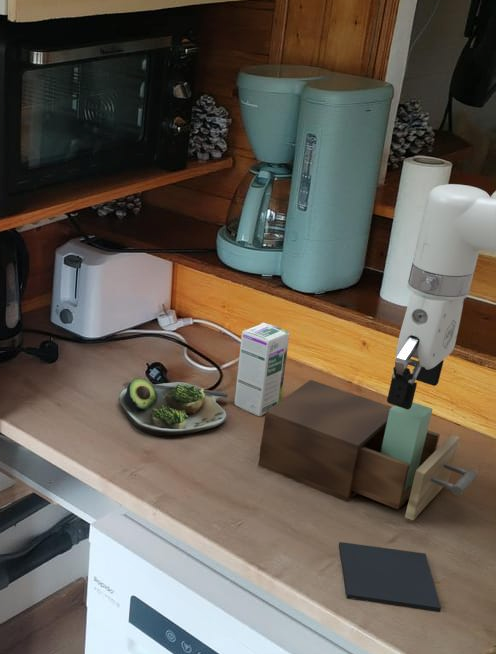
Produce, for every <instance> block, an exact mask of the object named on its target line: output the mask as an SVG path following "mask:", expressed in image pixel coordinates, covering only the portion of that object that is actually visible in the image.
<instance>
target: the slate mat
mask: <svg viewBox="0 0 496 654" xmlns="http://www.w3.org/2000/svg"><path fill="white" fill-rule="evenodd" d="M338 548H339V555H340V563H341V569H342V576H343V583H344V588H345V595H347V596H346V598H347V599H351V598H355V599H354V600H358V599H359V601H365V600H368V601H367V602H371V603H372V602H373V603H379V602H381V603H380V604H385V605H386V604H388V605H392V604H393V606H399V607H400V606H401V607H406V606H408V607H407V608H413V607H414V609H422V610H427V611H435V612H441V610H442V606H441V602H440V599H439V595H438V592H437V589H436V585H435V582H434V578H433V574H432V572H431V568H430V564H429V560H428V557H427V553H424V552H417V551H411V550H410V551H409V550H403V549H395V548H387V547H381V546H373V545H366V544H359V543H351V542H344V541H339V542H338Z"/></svg>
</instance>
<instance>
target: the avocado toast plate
mask: <svg viewBox="0 0 496 654" xmlns="http://www.w3.org/2000/svg"><path fill="white" fill-rule="evenodd" d="M121 385H122V386H123V387H124V389H123V390H122V391H121V392H120V394H119V396H118V402H119V404H120V407H121V409H122V411H123V414H124V415H125V417H126V418H127V420H128V422H129V421H130V422H131V423H130V422H129V423H130V424H131V426H132V427H134V426H135V427H134V428H135V429H137V430H139V431H141V432H142V433H144V434H147V435H150V436H154V437H174V436H181V435H189V434H193V433H197V432H201V431H204V430H208V429H211V428H215V427H218V426H219V425H221V424H223V423H224V422H225V421H226V419H227V418H228V414H227V412H226V411H225V410H224V408H222V406H221V405H219V403H217V400H220V399H226V398H228V397H229V393H228V392H225V391H217V390H209V389H205V388H204V387H202V388H201V386H198V385H195V384H191V383H187V382H183V381H175V382H174V381H173V382H167V383H166V382H165V383H158V384H152V383H151V382H150V381H148V380H147V379H144V378H135V379H133V380H131V381H130V382H129V381H127V382H123V383H122V384H121Z"/></svg>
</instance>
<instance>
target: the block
mask: <svg viewBox="0 0 496 654" xmlns="http://www.w3.org/2000/svg"><path fill="white" fill-rule="evenodd" d="M391 407H392V408H391V409H390V411H389V415H388V420H387V425H386V429H385V434H384V439H383V443H382V448H381V453H382V454H385V455H387V456H390V457H393V458H395V459H398V460H401V461H403V462H406V463H409V464H410V467H409V471H408V475H407V480H406V484H405V488H404V491H405V490H406V489H407V488H408V487H409V486H410V485H411V484H412V483H413V481H414V477H415V472H416V470H417V469H418V468H419V464H420V460H421V455H422V451H423V447H424V443H425V439H426V434H427V430H429V426H430V421H431V417H432V413H433V408H431V407H429V406H426V405H422V404H420V403H416V402H414V401H413V403H412V407H411V408H410V409H408V410H407V409H404V408H401V407H398V406H395V405H392V406H391Z"/></svg>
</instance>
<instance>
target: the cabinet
mask: <svg viewBox="0 0 496 654" xmlns="http://www.w3.org/2000/svg"><path fill="white" fill-rule="evenodd" d="M392 407H393V406H391V405H387V404H384V403H383V402H382V403H381V402H378V401H375V400H372V399H370V398H367V397H364V396H360V395H357V394H354V393H353V392H352V393H351V392H348V391H346V390H342V389H340V388H337V387H333V386H331V385H327V384H326V383H322V382H319V381H316V380H313V379H309V380H308V381H307V382H305V383H304V384H302V385H301V386H299V387H298V388H297V389H295V390H294V391H292V392H291V393H290V394H288V395H287V396H286V397H284V398H283V399H281V401H280V402H278V403H277V404H276V405H274V406H273V407H271V408H270V409H269V410H267V411H266V413H265V414H264V420H263V421H264V422H263V427H262V436H261V441H260V449H259V456H258V463H257V466H259V467H262V468H263V469H267V470H268V471H271V472H274V473H276V474H279V475H281V476H284V477H286V478H288V479H291V480H293V481H296V482H298V483H301V484H302V485H305V486H307V487H310V488H313V489H315V490H317V491H320V492H322V493H325V494H327V495H330V496H332V497H334V498H337V499H339V500H342V501H344V502H347V503H348V502H349V501H350V500H351V499H352V498H353V497H354V496H355V495H356V494H357V493H356V492H353V491H351V490H352V485H353V480H354V476H355V471H356V466H357V461H358V456H359V451H360V448H361V447H362V446H363V445H364V444H365V443H366V442H367V441H369V440H370V439H371V438H372V437H373V436H374V435H375V434H377V433H378V432H379V431H380V430H381V429H382V428H383V427H384V426H386V425H387V420H388V415H389V411H390V409H391V408H392Z"/></svg>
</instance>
